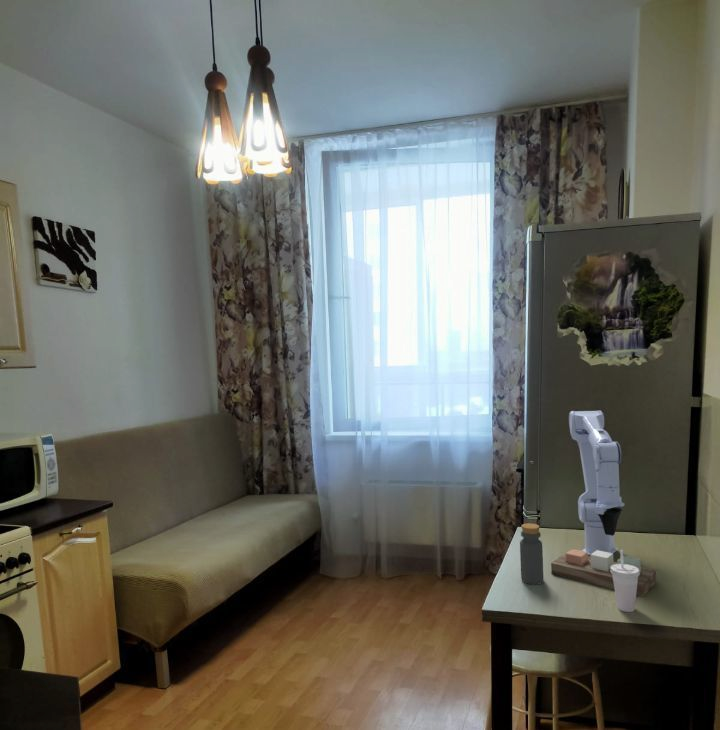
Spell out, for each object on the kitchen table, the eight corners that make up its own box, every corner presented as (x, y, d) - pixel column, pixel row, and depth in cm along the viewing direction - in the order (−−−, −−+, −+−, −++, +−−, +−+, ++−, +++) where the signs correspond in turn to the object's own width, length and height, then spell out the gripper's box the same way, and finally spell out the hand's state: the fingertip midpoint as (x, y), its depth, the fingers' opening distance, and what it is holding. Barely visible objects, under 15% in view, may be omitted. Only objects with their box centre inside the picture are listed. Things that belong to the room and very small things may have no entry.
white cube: (597, 564, 158) (596, 550, 158) (613, 568, 155) (613, 553, 155) (591, 569, 155) (590, 554, 155) (607, 573, 152) (607, 558, 152)
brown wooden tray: (568, 562, 167) (567, 551, 167) (656, 582, 151) (656, 570, 151) (551, 573, 159) (551, 562, 159) (643, 596, 143) (642, 584, 143)
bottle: (533, 586, 151) (531, 530, 151) (516, 579, 156) (514, 525, 156) (548, 581, 154) (546, 526, 154) (530, 574, 159) (529, 521, 159)
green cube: (623, 570, 153) (623, 555, 153) (641, 574, 150) (640, 559, 150) (617, 575, 150) (617, 560, 150) (635, 579, 147) (635, 563, 147)
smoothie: (615, 600, 141) (613, 544, 141) (643, 606, 137) (642, 549, 137) (608, 610, 136) (606, 551, 136) (637, 617, 132) (635, 557, 132)
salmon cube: (572, 562, 163) (572, 548, 163) (588, 566, 160) (587, 552, 160) (566, 567, 160) (565, 553, 160) (581, 571, 157) (581, 556, 157)
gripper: (613, 492, 151) (615, 543, 151) (632, 482, 161) (633, 530, 161) (586, 489, 155) (588, 538, 155) (606, 480, 166) (608, 526, 166)
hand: (609, 534), depth 159 cm, fingers closed
